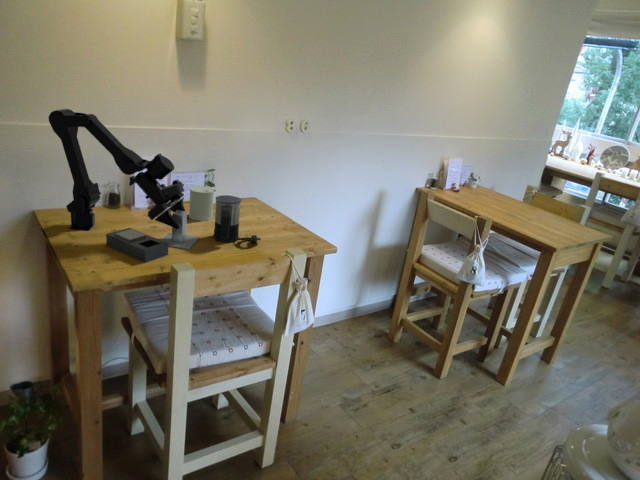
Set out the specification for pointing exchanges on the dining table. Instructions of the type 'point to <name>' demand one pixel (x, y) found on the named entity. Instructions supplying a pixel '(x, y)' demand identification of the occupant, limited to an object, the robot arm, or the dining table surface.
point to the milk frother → (228, 219)
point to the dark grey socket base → (137, 244)
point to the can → (201, 203)
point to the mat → (185, 245)
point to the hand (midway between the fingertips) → (183, 224)
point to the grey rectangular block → (181, 220)
